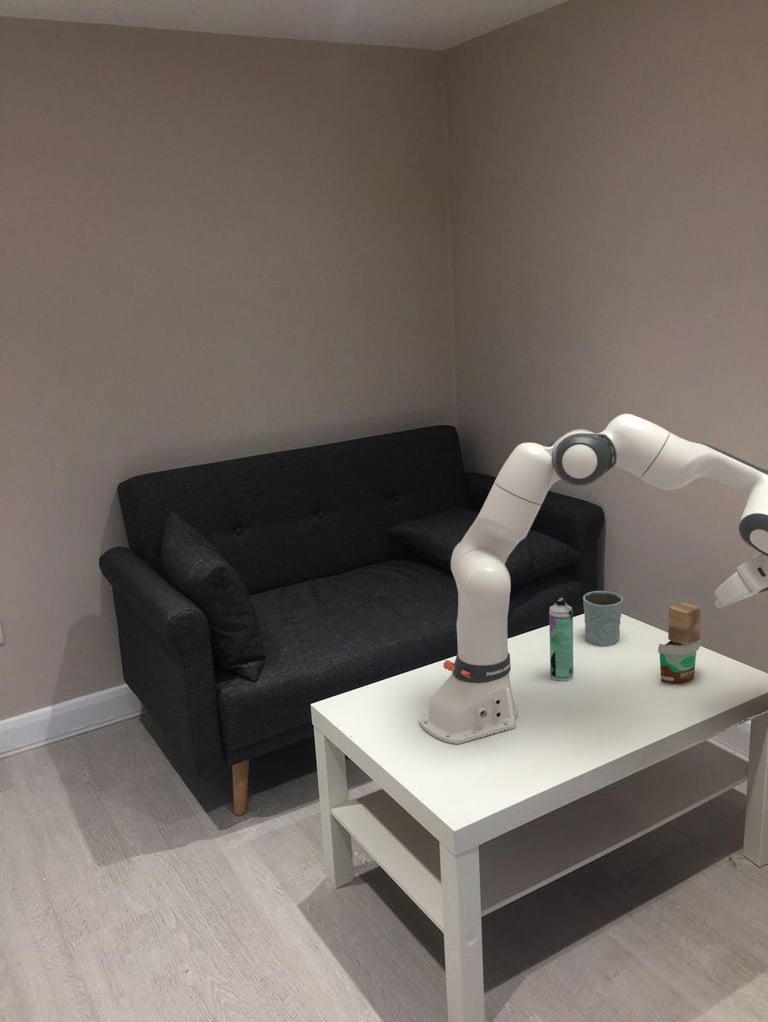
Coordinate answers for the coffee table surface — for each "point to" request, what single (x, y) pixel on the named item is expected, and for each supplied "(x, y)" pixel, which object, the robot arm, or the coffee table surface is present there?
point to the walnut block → (684, 623)
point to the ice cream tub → (677, 662)
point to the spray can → (561, 641)
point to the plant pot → (602, 617)
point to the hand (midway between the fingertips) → (731, 599)
